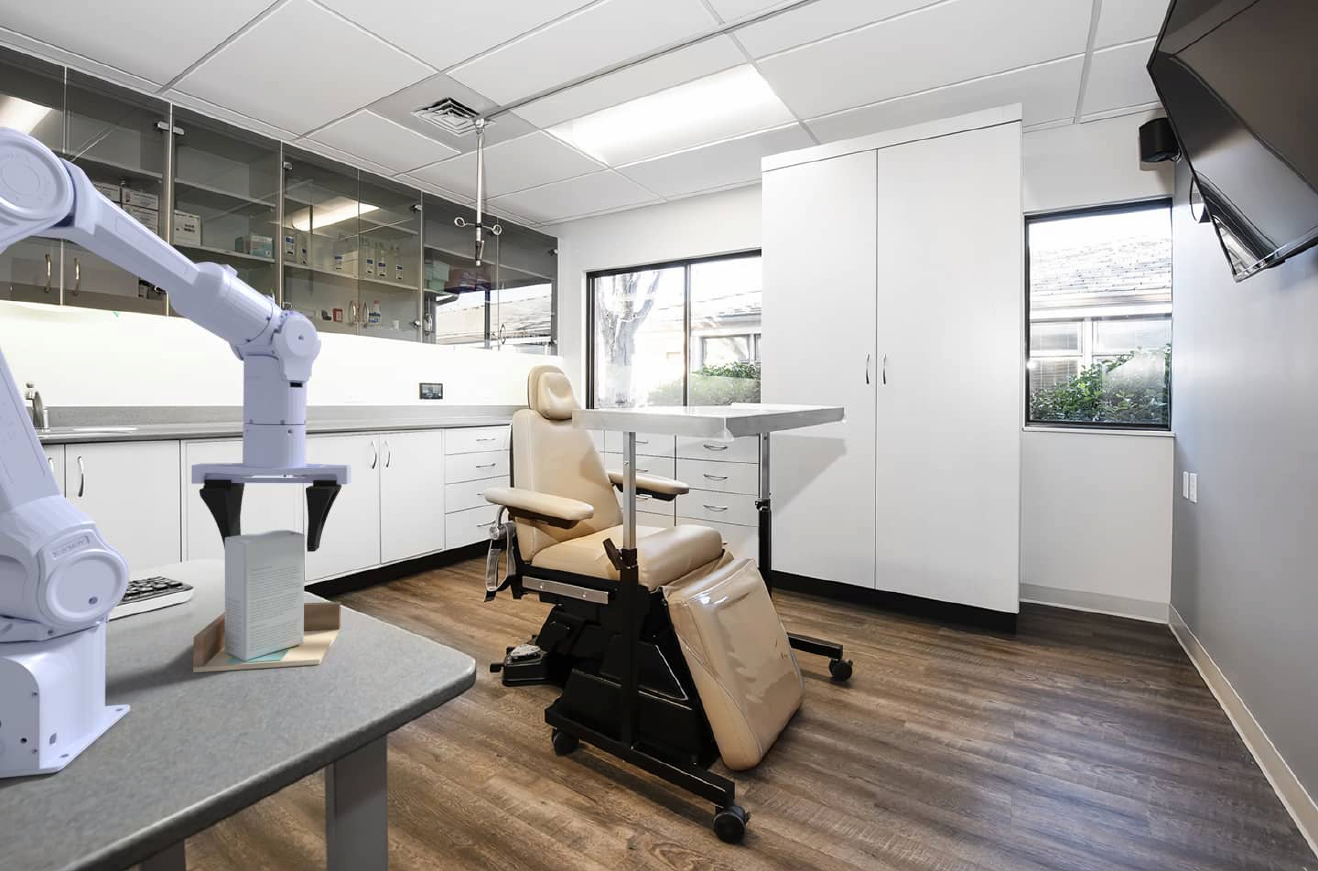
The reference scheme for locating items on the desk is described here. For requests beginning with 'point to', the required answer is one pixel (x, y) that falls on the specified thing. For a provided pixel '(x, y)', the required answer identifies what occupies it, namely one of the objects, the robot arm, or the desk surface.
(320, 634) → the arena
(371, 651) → the desk surface
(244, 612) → the skincare box
